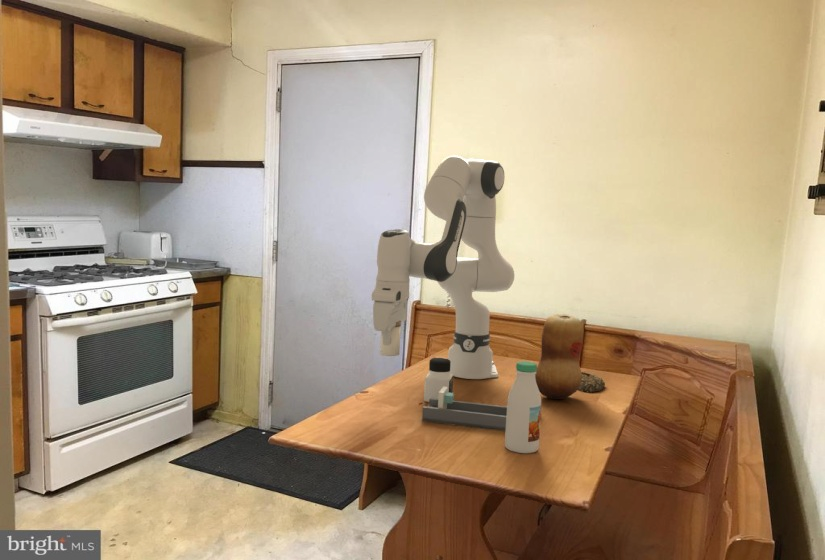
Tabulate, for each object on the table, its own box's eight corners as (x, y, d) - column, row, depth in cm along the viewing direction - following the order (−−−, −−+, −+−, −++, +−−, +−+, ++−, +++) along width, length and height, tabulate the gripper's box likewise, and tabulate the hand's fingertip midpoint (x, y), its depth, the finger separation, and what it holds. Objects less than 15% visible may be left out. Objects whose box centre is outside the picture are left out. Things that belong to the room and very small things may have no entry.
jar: (383, 350, 175) (384, 318, 174) (402, 352, 174) (403, 320, 173) (377, 355, 170) (378, 321, 169) (396, 357, 168) (398, 323, 168)
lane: (429, 410, 173) (430, 381, 172) (519, 421, 167) (521, 391, 166) (422, 421, 164) (423, 390, 163) (516, 432, 159) (518, 400, 158)
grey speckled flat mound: (609, 388, 207) (610, 372, 206) (593, 395, 197) (594, 379, 197) (573, 380, 215) (574, 365, 214) (555, 386, 205) (556, 371, 205)
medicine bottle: (448, 404, 180) (450, 362, 179) (423, 401, 181) (425, 360, 180) (452, 397, 187) (454, 357, 186) (428, 395, 188) (430, 355, 187)
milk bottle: (516, 455, 143) (521, 368, 141) (498, 444, 150) (503, 360, 148) (545, 452, 146) (550, 366, 144) (526, 440, 153) (531, 358, 151)
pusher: (442, 409, 171) (443, 386, 170) (454, 411, 170) (455, 387, 169) (437, 416, 165) (438, 392, 164) (449, 417, 164) (451, 393, 163)
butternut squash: (560, 407, 181) (566, 320, 179) (524, 396, 191) (529, 313, 189) (590, 400, 190) (596, 317, 188) (553, 389, 200) (558, 310, 198)
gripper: (391, 286, 181) (389, 334, 182) (369, 294, 161) (367, 348, 162) (413, 287, 179) (411, 336, 181) (393, 296, 159) (391, 351, 161)
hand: (390, 342), depth 171 cm, fingers closed on jar, 5 cm apart
